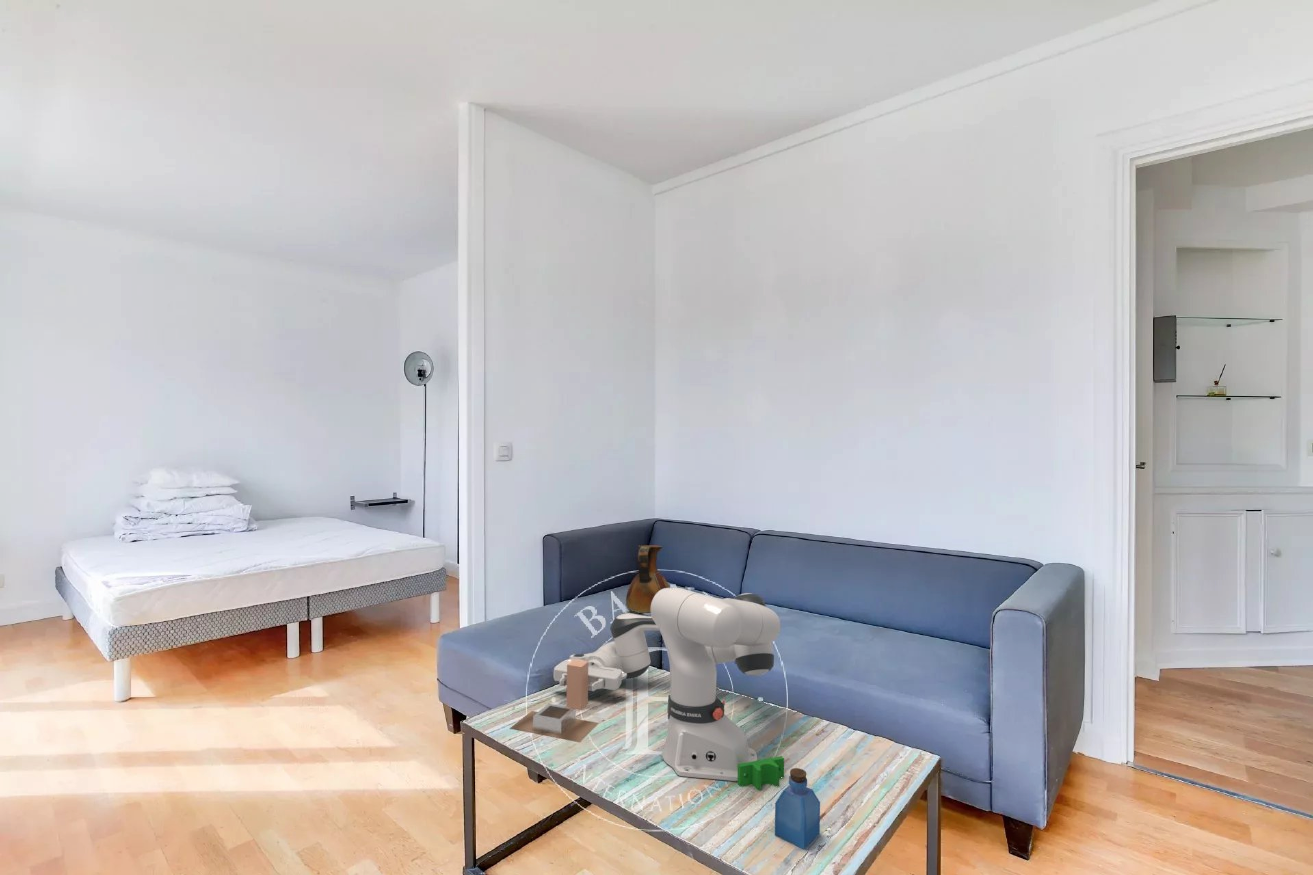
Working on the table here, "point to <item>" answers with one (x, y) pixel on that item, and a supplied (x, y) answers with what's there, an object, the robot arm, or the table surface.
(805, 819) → the perfume bottle
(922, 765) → the table surface
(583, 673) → the tall rectangular block
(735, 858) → the table surface
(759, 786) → the pipe clamp
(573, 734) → the holder base
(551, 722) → the square metal frame
